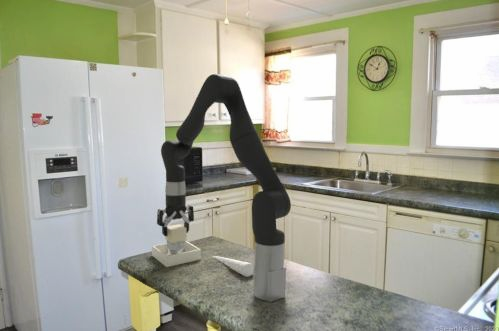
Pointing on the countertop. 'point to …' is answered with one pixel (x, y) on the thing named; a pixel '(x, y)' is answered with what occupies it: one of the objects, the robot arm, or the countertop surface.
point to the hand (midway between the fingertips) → (175, 234)
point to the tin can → (175, 248)
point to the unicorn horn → (237, 266)
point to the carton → (176, 233)
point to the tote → (188, 256)
